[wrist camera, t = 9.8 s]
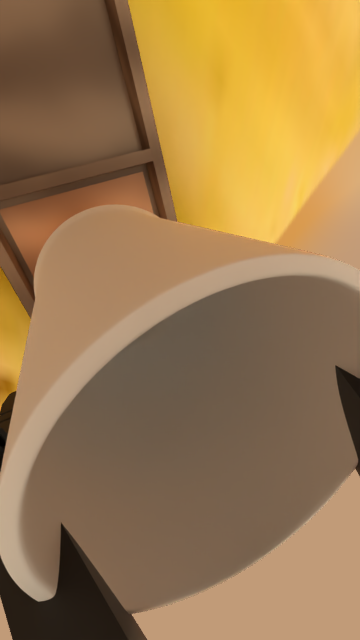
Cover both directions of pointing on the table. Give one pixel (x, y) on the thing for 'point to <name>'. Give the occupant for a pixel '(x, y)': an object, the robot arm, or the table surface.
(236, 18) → the table surface
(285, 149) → the table surface
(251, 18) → the table surface
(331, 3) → the table surface
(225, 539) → the mug
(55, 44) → the rack
